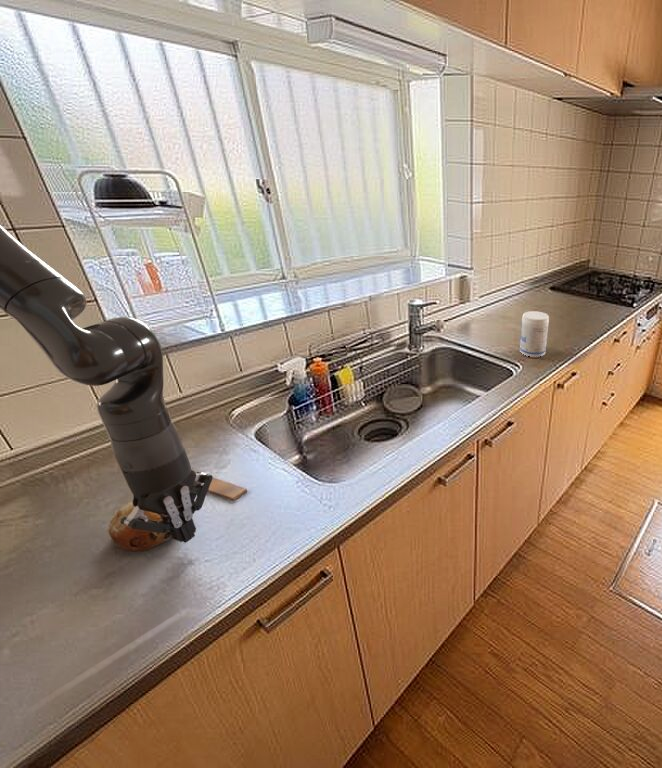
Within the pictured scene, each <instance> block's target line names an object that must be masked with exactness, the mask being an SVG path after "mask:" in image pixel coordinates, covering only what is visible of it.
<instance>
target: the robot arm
mask: <svg viewBox="0 0 662 768" xmlns="http://www.w3.org/2000/svg"><path fill="white" fill-rule="evenodd" d="M87 304H88V301H87V297H86V296H85V294H84V293H83V292H82V290H81V289H79V288H78V287H77V286H76V285H74V284H73V283H72V282H71V281H69V280H68V279H67V278H66V277H64V275H62V274H60V272H58V271H57V270H56V269H54V268H53V267H52V266H51V265H49V264H48V263H47V262H45V261H44V259H41V257H39V256H38V255H36V254H35V253H33V251H31V250H30V249H28V248H27V247H26V246H25V245H24V244H22V242H20V241H19V240H18V239H17V238H16V237H14V235H12V234H11V233H10V232H9V231H8V230H7V229H6V228H5V227H4V226H3V225H2V224H1V223H0V310H1V311H2V312H3V313H5V314H6V315H8V316H9V317H10V318H12V319H13V320H14V321H16V322H17V323H18V324H19V325H20V326H21V327H22V329H23V330H24V331H25V332H26V334H28V336H29V337H30V338H31V339H32V341H34V343H35V344H36V346H38V348H39V349H40V350H41V351H42V353H43V354H44V355H45V357H46V359H47V360H48V361H49V362H50V363H51V365H52V366H53V368H54V369H56V370H57V372H59V373H60V374H61V376H64V377H65V378H66V379H69V380H70V381H72V382H75V383H78V384H81V385H84V386H92V387H96V386H97V387H99V386H104V385H107V384H110V383H112V382H113V384H112V386H111V387H110V388H109V389H108V390H106V391H105V392H104V393H103V394H102V395H101V396H100V397H99V398H98V400H97V402H96V410H97V414H98V416H99V418H100V420H101V423H102V426H103V427H104V430H105V432H106V434H107V436H108V438H109V442H110V446H111V450H112V453H113V454H114V457H115V459H116V462H117V464H118V466H119V468H120V471H121V473H122V475H123V478H124V479H125V482H126V484H127V486H128V488H129V490H130V491H131V493H132V495H133V496H132V497H133V498H132V501H133V506H134V509H133V510H132V512H131V513H130V515H129V516H125V517H123V518H122V519H121V521H120V522H121V524H123V525H126V526H128V527H130V528H133V529H138V530H145V531H151V532H158V533H167V532H168V531H169V530H170V533H171V535H172V537H171V538H172V539H173V540H175V541H177V542H180V543H185V544H186V543H188V542H189V541H191V540H192V539H193V538H194V537H195V536H196V534H195V533H196V532H197V528H196V524H195V523H194V519H193V516H194V513H196V512H197V511H198V512H199V511H200V510H201V509H202V508H203V505H204V502H205V499H206V497H207V495H208V493H209V492H208V489H209V486H210V484H211V481H212V478H214V476H213V475H212V474H209V473H206V472H203V471H201V470H200V471H195V470H193V469H192V466H191V463H190V460H189V457H188V455H187V452H186V449H185V446H184V443H183V439H182V437H181V435H180V433H179V431H178V429H177V427H176V426H175V424H174V422H173V419H172V417H171V414H170V411H169V408H168V406H167V403H166V401H165V398H164V355H163V353H164V352H163V349H162V345H161V342H160V340H159V338H158V337H157V334H156V333H155V332H154V331H153V330H152V328H151V327H149V325H148V324H146V323H144V322H143V321H141V320H140V319H137V318H133V317H131V316H118V317H113V318H110V319H107V320H104V321H101V322H98V323H95V324H91V325H89V326H86V327H83V328H82V327H79V326H78V325H77V324H76V323H74V321H73V320H75V319H76V318H77V317H79V316H80V315H81V314H82V313H83V312H84V311H85V309H86V307H87ZM194 471H195V472H197V473H195V472H194ZM144 510H145V511H149V512H153V513H157V514H158V515H159V516H160V517H161V519H162V521H159V522H158V521H154V520H148V519H147V515H145V514H144Z"/></svg>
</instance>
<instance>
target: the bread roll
mask: <svg viewBox="0 0 662 768" xmlns="http://www.w3.org/2000/svg"><path fill="white" fill-rule="evenodd" d="M133 509H134V506H133V500H132V501H130V502H128V503H127V504H125V505H123V506H121V508H119V509H118V510H117V511H116V512H115V514H114V516H113V517H112V518H111V520H110V523H109V525H108V529H107V533H108V535H109V537H110V539H111V540H112V542H113V543H114V544H115V545H117V546H118V547H119V548H121V549H123V550H126V551H128V552H139V551H146V550H151V549H153V548H155V547H157V546H159V545H161V544H162V543H165V542H167V541H169V540H170V539H171V538H173V537H172V535H171V533H170V530H169V531H168V532H167V533H158V532H151V531H145V530H138V529H133V528H130V527H128V526H126V525H123V524H121V522H120V521H121V519H122V518H123V517H125V516H129V515H130V513H131V512H132V510H133ZM144 514H145V515H147V519H148V520H154V521H158V522H159V521H162V519H161V517H160V516H159V515H158V514H157V513H153V512H149V511H145V510H144Z"/></svg>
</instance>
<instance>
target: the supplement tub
mask: <svg viewBox="0 0 662 768" xmlns="http://www.w3.org/2000/svg"><path fill="white" fill-rule="evenodd" d="M549 323H550V316H549V315H548V313H545V312H544V311H543V312H542V311H536V310H534V311H533V310H530V311H525V312H524V313H523V314H522V317H521V326H520V327H521V329H520V341H519V353H520V352H521V353H522V354H521V353H520V354H521V355H522V356H524V357H527V358H532V359H533V358H542V357H543V356H545V354H546V352H547V351H546V350H547V344H548V343H547V341H548V331H549ZM523 354H524V355H523ZM525 355H526V356H525ZM528 356H530V357H528ZM540 356H541V357H540Z"/></svg>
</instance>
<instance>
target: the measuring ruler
mask: <svg viewBox="0 0 662 768" xmlns="http://www.w3.org/2000/svg"><path fill="white" fill-rule="evenodd" d="M193 471H194V472H195V473H197V472H198V471H195V470H193ZM246 492H248V489H247V488H245V487H243V486H240V485H236V484H234V483H230V482H228V481H224V480H222V479H218V478H216V477H213V478H212V481H211V484H210V486H209V489H208V492H207V493H210V494H214V495H217V496H218V497H222V498H225V499H227V500H230V501H233V502H234V501H236V500H237V499H238V498H240V497H241V496H242V495H243V494H245V493H246Z"/></svg>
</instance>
